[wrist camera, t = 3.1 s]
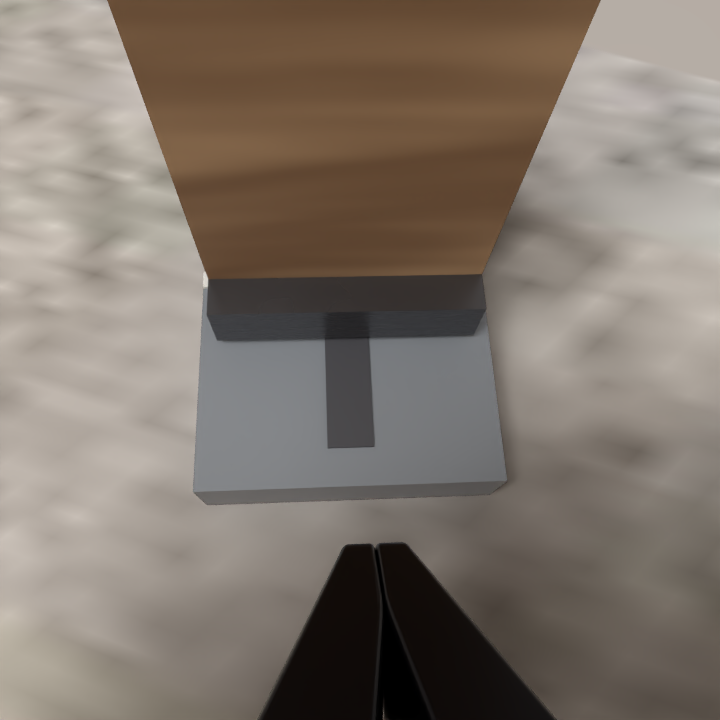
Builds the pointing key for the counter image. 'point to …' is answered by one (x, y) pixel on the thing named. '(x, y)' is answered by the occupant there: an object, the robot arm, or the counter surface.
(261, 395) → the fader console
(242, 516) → the counter surface
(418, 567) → the robot arm
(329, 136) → the slide lever
